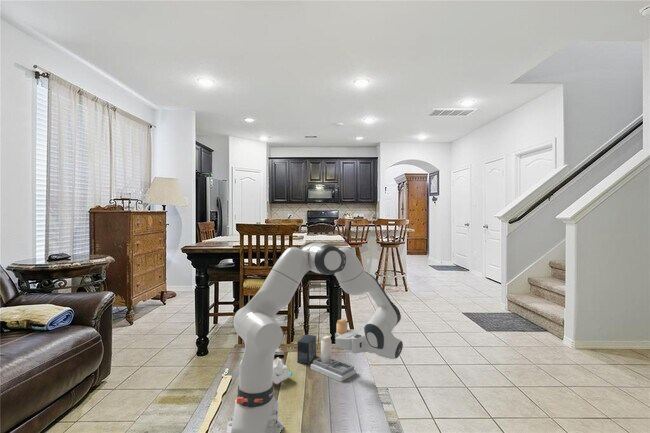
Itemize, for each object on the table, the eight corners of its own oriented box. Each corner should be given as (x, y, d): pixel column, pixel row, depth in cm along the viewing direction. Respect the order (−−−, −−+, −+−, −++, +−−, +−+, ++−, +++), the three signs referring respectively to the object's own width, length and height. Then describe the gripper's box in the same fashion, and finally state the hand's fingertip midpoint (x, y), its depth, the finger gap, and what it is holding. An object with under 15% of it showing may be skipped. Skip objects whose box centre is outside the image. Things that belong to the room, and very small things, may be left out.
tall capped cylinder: (349, 347, 158) (349, 320, 158) (342, 350, 155) (342, 322, 155) (340, 344, 162) (341, 317, 161) (334, 347, 158) (334, 320, 158)
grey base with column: (356, 373, 160) (356, 341, 159) (340, 381, 151) (341, 348, 151) (326, 361, 171) (326, 331, 171) (310, 368, 163) (311, 337, 163)
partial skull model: (287, 381, 145) (272, 363, 146) (273, 394, 146) (258, 376, 148) (297, 368, 156) (282, 352, 158) (284, 381, 158) (269, 365, 160)
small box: (304, 354, 180) (304, 333, 180) (316, 356, 178) (316, 335, 178) (296, 362, 170) (296, 341, 170) (309, 364, 168) (309, 342, 168)
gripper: (378, 326, 158) (353, 320, 167) (352, 339, 142) (325, 331, 151) (378, 340, 158) (353, 333, 167) (352, 355, 142) (325, 346, 151)
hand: (340, 332), depth 159 cm, fingers closed on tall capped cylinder, 5 cm apart
